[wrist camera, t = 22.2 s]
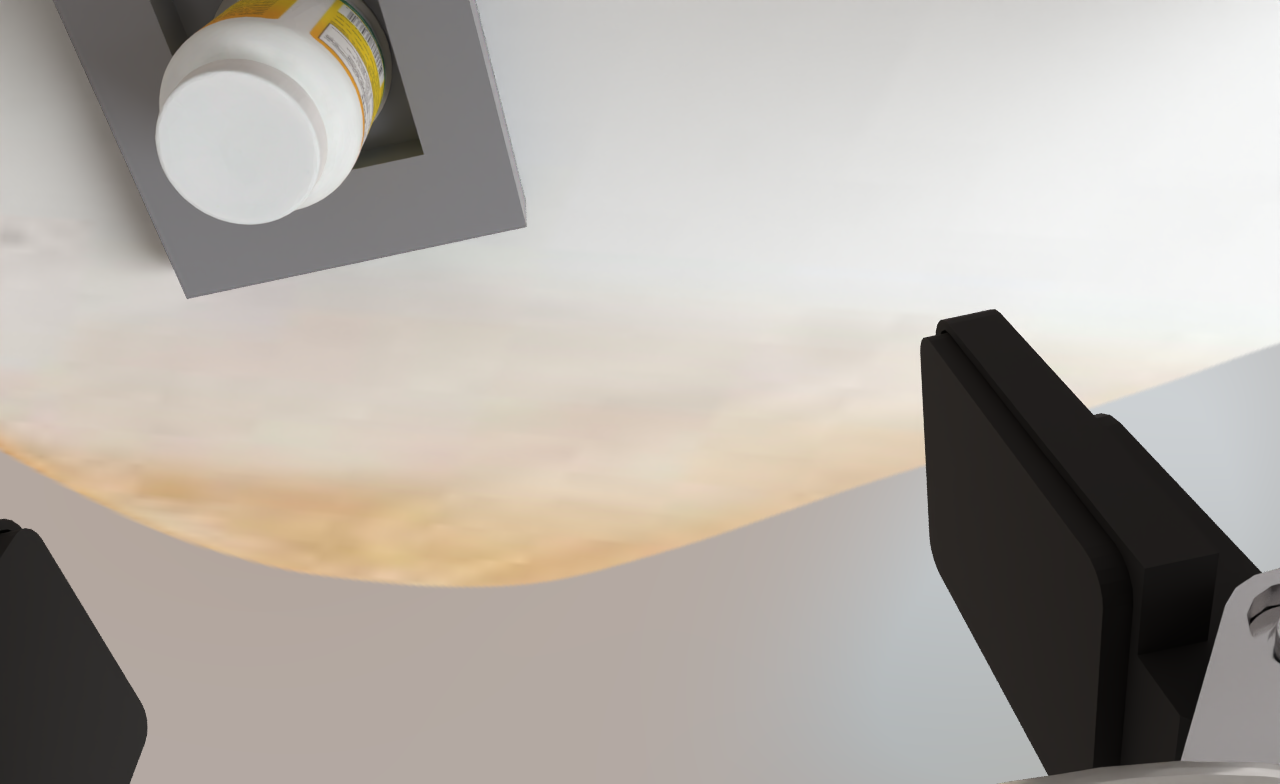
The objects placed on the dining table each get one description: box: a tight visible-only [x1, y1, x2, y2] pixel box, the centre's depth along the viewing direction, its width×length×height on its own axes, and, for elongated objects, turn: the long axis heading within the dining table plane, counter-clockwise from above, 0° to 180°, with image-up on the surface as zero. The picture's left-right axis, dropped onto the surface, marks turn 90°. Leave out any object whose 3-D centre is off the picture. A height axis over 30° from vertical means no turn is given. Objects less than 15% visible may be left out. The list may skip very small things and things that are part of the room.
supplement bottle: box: [155, 0, 386, 225], centre depth 31 cm, size 5×5×10 cm
